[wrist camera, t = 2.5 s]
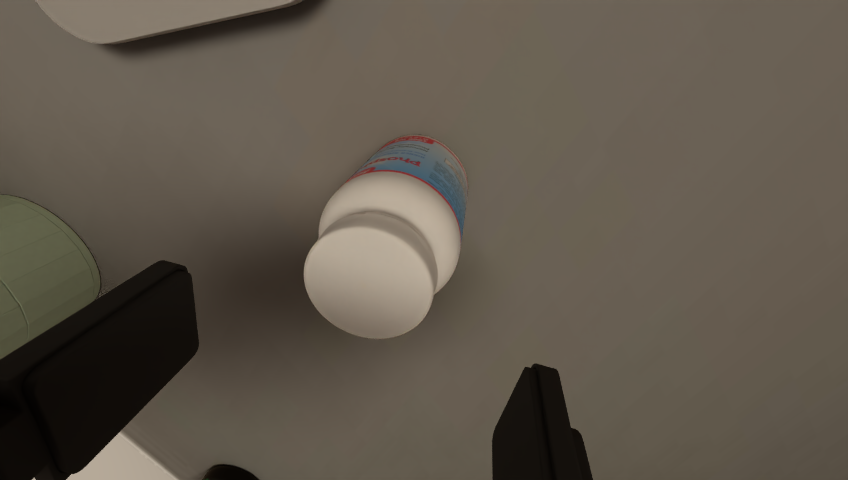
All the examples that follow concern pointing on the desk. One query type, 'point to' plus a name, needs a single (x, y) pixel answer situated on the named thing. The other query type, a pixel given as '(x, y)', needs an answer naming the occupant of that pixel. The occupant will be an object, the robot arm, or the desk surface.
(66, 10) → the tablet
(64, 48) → the desk surface
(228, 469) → the supplement bottle
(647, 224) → the desk surface
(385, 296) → the pill bottle
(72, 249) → the green cylindrical sleeve
